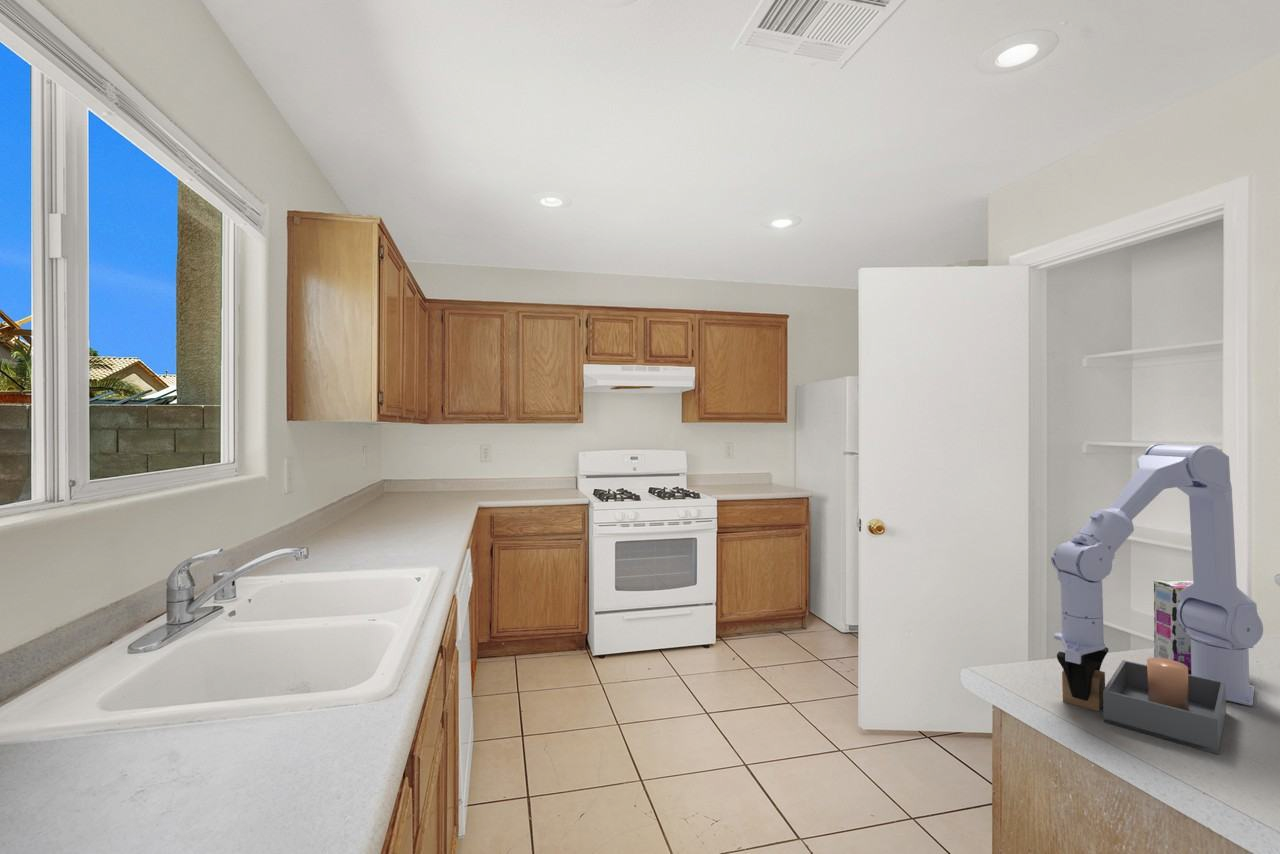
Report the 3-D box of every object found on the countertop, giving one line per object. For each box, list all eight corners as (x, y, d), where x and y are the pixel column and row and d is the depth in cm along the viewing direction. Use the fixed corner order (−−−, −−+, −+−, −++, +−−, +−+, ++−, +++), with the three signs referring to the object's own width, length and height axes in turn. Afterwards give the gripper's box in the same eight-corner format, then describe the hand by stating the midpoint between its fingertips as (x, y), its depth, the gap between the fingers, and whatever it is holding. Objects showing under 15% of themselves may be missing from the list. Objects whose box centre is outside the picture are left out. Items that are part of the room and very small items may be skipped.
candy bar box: (1176, 674, 109) (1173, 587, 109) (1153, 663, 114) (1151, 580, 114) (1237, 673, 109) (1235, 586, 109) (1212, 662, 114) (1209, 579, 114)
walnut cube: (1070, 691, 103) (1069, 663, 103) (1105, 701, 100) (1104, 672, 100) (1062, 701, 100) (1062, 672, 100) (1099, 711, 96) (1098, 681, 96)
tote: (1123, 687, 104) (1122, 660, 104) (1226, 713, 95) (1225, 682, 95) (1103, 722, 93) (1103, 690, 93) (1218, 754, 83) (1217, 719, 83)
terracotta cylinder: (1140, 700, 98) (1139, 659, 98) (1165, 697, 99) (1163, 656, 99) (1171, 715, 93) (1170, 671, 93) (1197, 711, 94) (1196, 668, 94)
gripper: (1064, 599, 108) (1066, 673, 108) (1042, 618, 98) (1044, 699, 98) (1112, 607, 102) (1114, 684, 102) (1094, 628, 93) (1097, 713, 93)
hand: (1083, 692), depth 100 cm, fingers closed on walnut cube, 5 cm apart
